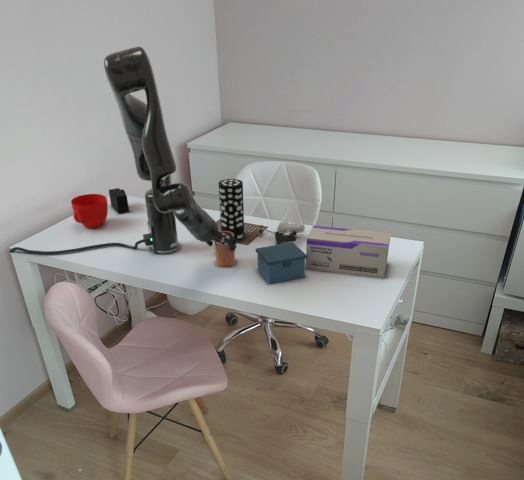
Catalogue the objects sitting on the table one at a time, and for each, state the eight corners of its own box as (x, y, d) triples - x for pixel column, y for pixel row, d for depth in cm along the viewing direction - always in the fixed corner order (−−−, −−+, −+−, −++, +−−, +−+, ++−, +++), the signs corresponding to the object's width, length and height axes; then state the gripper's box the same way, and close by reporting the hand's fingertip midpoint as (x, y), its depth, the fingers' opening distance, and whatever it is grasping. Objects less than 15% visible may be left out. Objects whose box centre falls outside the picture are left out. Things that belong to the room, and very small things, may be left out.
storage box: (268, 284, 167) (268, 262, 162) (255, 269, 175) (255, 248, 171) (306, 277, 170) (307, 255, 166) (292, 263, 179) (292, 242, 174)
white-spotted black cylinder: (243, 242, 193) (242, 186, 181) (220, 242, 193) (217, 186, 182) (244, 232, 200) (243, 178, 188) (222, 232, 200) (219, 178, 188)
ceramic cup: (63, 233, 201) (57, 207, 195) (88, 217, 214) (83, 192, 208) (94, 237, 198) (88, 211, 192) (117, 220, 211) (113, 195, 205)
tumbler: (219, 268, 176) (217, 239, 170) (213, 260, 181) (211, 232, 175) (237, 265, 178) (236, 236, 172) (231, 257, 183) (230, 229, 177)
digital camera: (132, 211, 219) (129, 194, 215) (119, 214, 216) (116, 196, 212) (124, 203, 226) (121, 187, 222) (111, 206, 224) (108, 189, 220)
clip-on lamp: (251, 247, 196) (295, 246, 187) (247, 231, 193) (291, 229, 184) (266, 232, 204) (309, 231, 195) (262, 217, 201) (305, 214, 191)
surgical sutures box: (305, 268, 175) (306, 238, 169) (312, 255, 184) (313, 225, 177) (383, 278, 169) (387, 246, 163) (386, 263, 178) (390, 233, 172)
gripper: (176, 231, 163) (200, 252, 177) (216, 240, 157) (238, 261, 172) (185, 208, 163) (208, 231, 178) (225, 217, 158) (245, 239, 172)
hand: (223, 246), depth 175 cm, fingers open, 8 cm apart
